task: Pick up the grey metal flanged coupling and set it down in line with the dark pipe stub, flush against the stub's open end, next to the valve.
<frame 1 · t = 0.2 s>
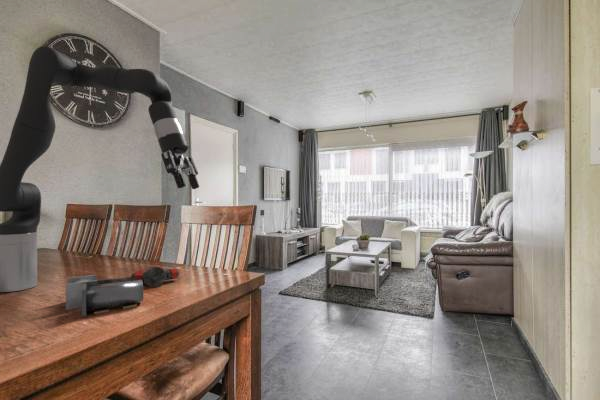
hand: (189, 187, 87), 31 cm above the table, tool tilted 20°, fingers open, 8 cm apart
pipe stub: (115, 307, 75), on the table
valve: (139, 283, 99), on the table
coupling: (82, 303, 78), on the table
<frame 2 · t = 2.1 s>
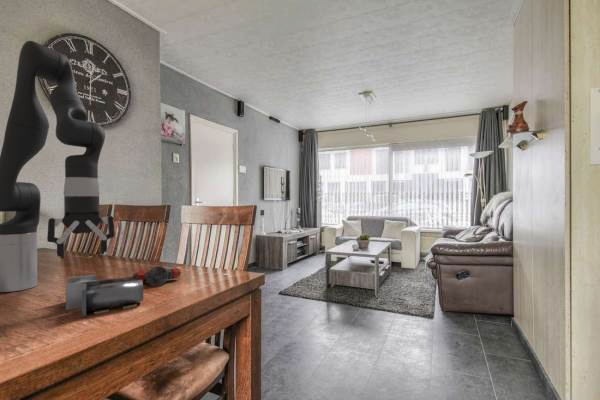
hand: (83, 256, 78), 12 cm above the table, tool pointing down, fingers open, 8 cm apart
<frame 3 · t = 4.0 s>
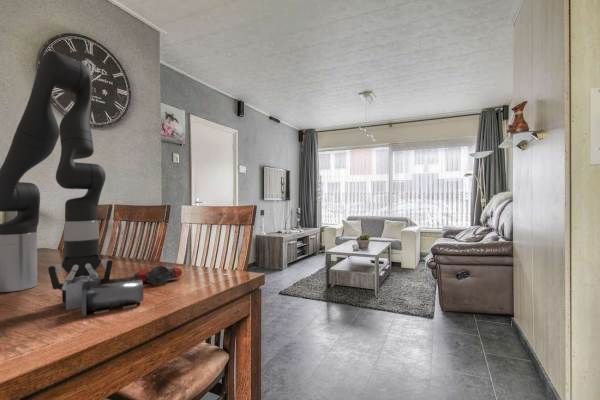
hand: (82, 300, 78), 1 cm above the table, tool pointing down, fingers closed on coupling, 5 cm apart
coupling: (82, 303, 78), on the table, touching gripper
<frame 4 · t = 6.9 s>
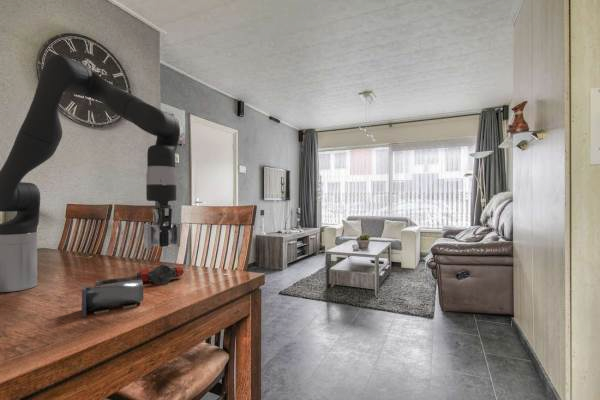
hand: (161, 244, 81), 15 cm above the table, tool pointing down, fingers closed on coupling, 5 cm apart
coupling: (162, 246, 81), point 14 cm above the table, touching gripper
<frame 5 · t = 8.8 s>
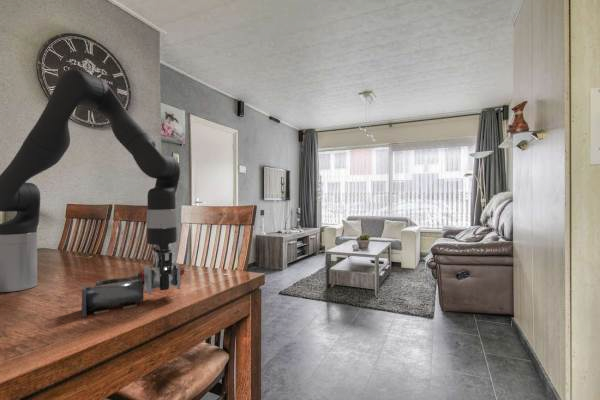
hand: (162, 286, 81), 3 cm above the table, tool pointing down, fingers closed on coupling, 5 cm apart
coupling: (162, 288, 81), point 3 cm above the table, touching gripper
when the fingers open (2 cm above the table, at t = 10.1 s): coupling drops 1 cm, on the table.
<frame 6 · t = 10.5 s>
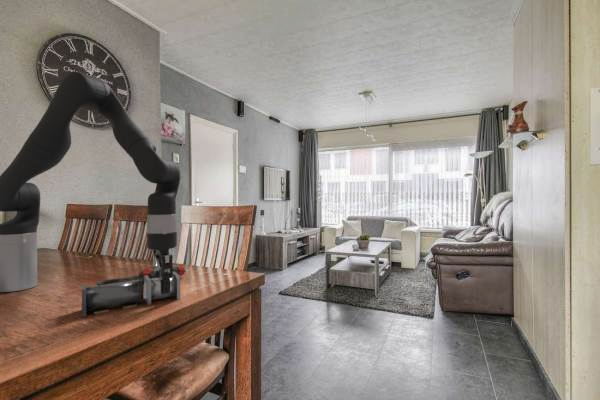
hand: (162, 289, 81), 3 cm above the table, tool pointing down, fingers open, 8 cm apart
coupling: (162, 299, 81), on the table
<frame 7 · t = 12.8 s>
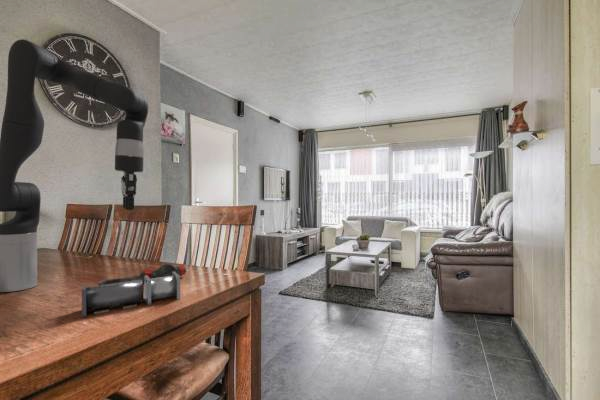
hand: (128, 209, 90), 25 cm above the table, tool pointing down, fingers open, 8 cm apart
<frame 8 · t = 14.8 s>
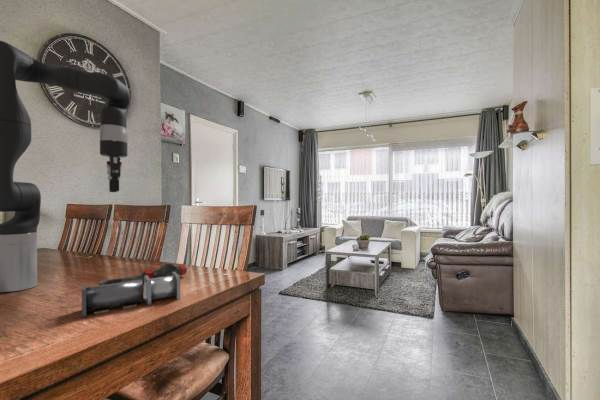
hand: (114, 191, 94), 30 cm above the table, tool pointing down, fingers open, 8 cm apart
at the end: coupling inside the target area (0.5 cm from its centre), on the table; coupling tilted 0° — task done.
